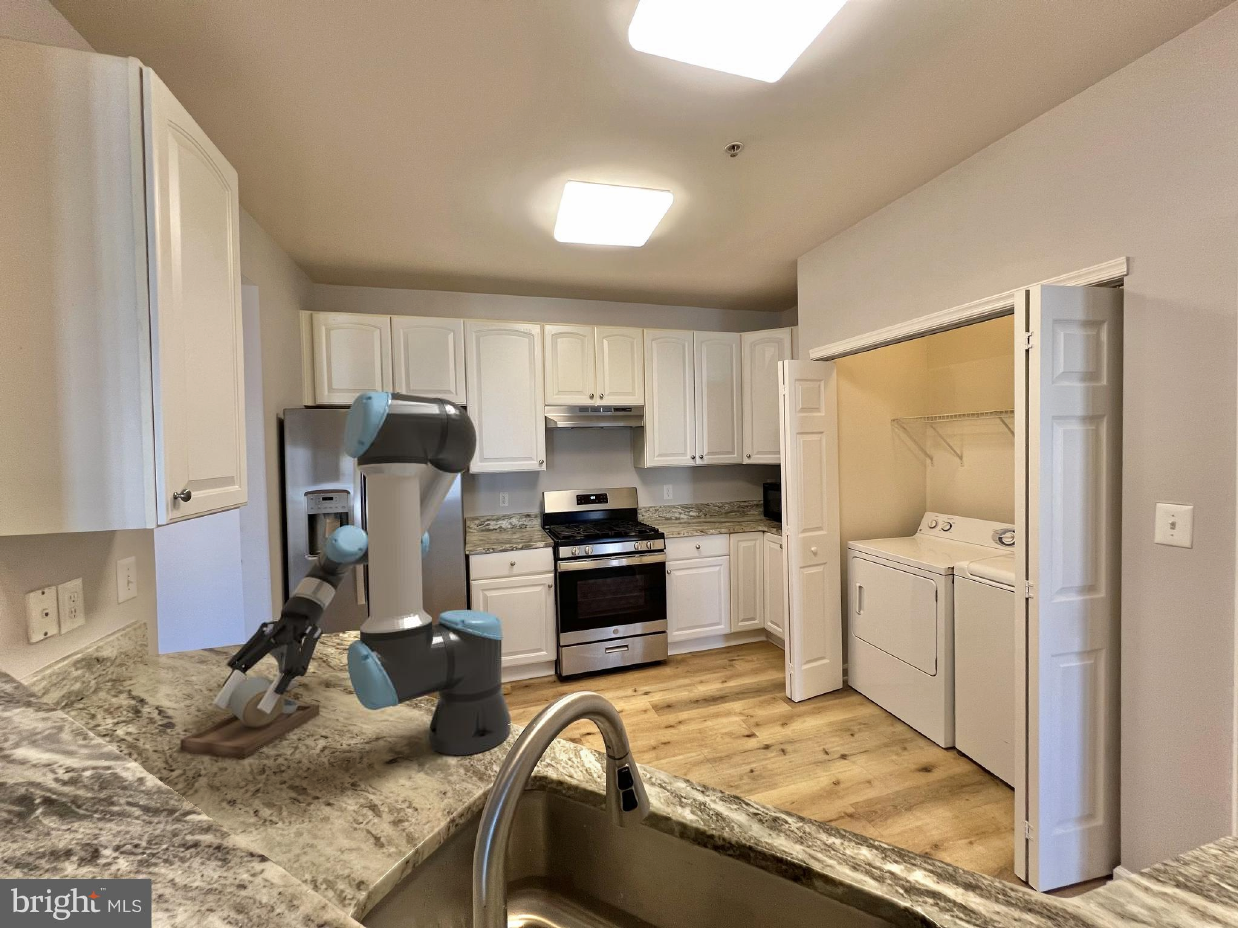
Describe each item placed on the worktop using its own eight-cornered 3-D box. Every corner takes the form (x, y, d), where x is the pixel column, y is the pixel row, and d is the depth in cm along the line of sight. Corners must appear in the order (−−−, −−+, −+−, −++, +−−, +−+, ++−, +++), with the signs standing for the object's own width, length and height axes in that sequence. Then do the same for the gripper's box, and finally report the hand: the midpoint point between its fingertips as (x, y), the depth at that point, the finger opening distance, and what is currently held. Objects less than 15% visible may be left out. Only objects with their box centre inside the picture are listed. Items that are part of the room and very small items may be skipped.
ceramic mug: (242, 735, 94) (244, 693, 95) (227, 721, 99) (229, 682, 100) (304, 715, 103) (306, 677, 103) (288, 703, 108) (290, 667, 108)
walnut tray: (319, 714, 106) (319, 704, 106) (244, 758, 90) (244, 747, 90) (263, 708, 109) (263, 699, 109) (180, 750, 93) (180, 739, 93)
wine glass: (303, 687, 120) (304, 623, 121) (262, 696, 115) (263, 630, 115) (298, 677, 126) (298, 616, 127) (258, 685, 121) (259, 622, 121)
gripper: (360, 614, 113) (301, 721, 97) (275, 610, 117) (206, 711, 101) (342, 596, 108) (278, 705, 92) (255, 592, 112) (178, 695, 96)
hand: (240, 708), depth 97 cm, fingers closed on ceramic mug, 9 cm apart
